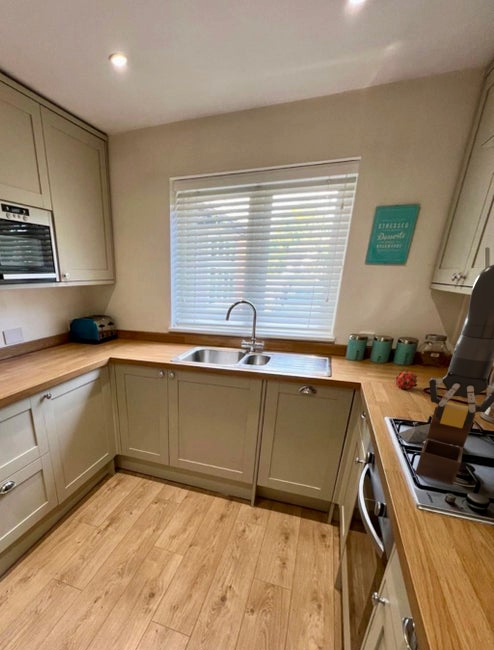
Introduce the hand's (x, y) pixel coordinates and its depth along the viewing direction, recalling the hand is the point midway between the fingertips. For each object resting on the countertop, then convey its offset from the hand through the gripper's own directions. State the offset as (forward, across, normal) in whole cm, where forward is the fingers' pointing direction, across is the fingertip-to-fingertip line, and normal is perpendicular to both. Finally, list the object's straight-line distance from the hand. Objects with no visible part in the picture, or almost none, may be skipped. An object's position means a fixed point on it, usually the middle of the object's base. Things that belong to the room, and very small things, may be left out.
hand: (451, 421), depth 83 cm
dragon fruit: (+16, +19, -79) cm, 82 cm away
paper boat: (+16, +6, -20) cm, 27 cm away
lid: (+3, 0, -5) cm, 6 cm away
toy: (0, 0, 0) cm, 0 cm away
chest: (+16, 0, -2) cm, 16 cm away
